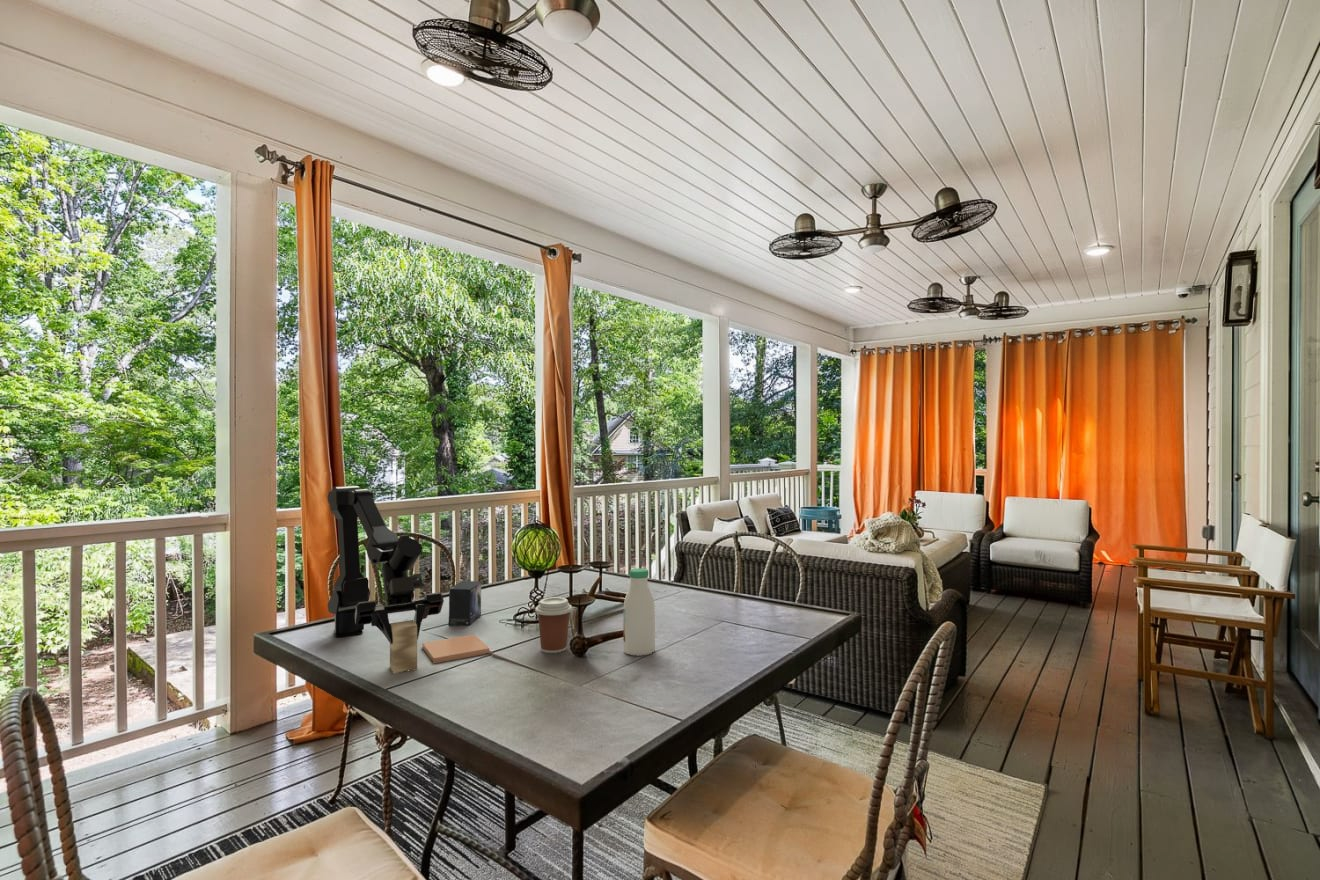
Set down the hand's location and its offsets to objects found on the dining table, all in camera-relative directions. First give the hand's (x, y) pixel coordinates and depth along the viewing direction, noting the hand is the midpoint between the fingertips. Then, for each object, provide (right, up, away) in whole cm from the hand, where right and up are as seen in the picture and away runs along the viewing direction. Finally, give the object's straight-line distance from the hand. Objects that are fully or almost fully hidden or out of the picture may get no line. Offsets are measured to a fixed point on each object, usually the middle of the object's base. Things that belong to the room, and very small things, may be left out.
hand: (404, 640), depth 139 cm
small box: (+1, -7, +39) cm, 40 cm away
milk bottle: (+53, -7, +12) cm, 54 cm away
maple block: (-1, -7, +1) cm, 7 cm away
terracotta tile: (+7, -7, +13) cm, 16 cm away
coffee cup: (+31, -7, +14) cm, 35 cm away
